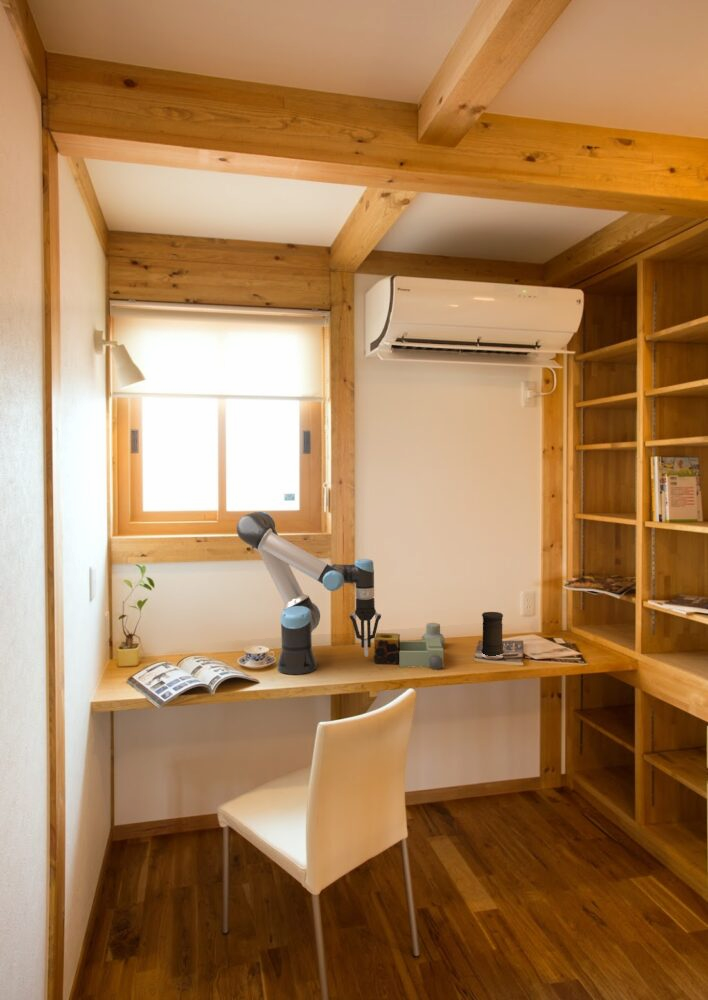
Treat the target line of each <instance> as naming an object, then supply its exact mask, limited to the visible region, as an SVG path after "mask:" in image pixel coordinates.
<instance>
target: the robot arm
mask: <svg viewBox="0 0 708 1000" xmlns="http://www.w3.org/2000/svg"><path fill="white" fill-rule="evenodd" d="M275 523H276V522H275V520H274V518H273V516H271V515H270V514H269V513H267V512H264V511H253V512H251V513H247V514H244V515H243V516H241V517H240V519H238V521H237V523H236V533H237V536H238V537H239V539H240V540H241V541H242V542H243V543H245V544H247V545H249V546H251V548H252V549H253V550H254V551H257V552H258V553H259V555H260V557H261V559H262V561H263V564H264V565H265V567H266V569H267V571H268V573H269V576H270V577H271V578H272V579H271V580H272V581H273V583H274V585H275V587H276V589H277V590H278V591H277V592H278V593H279V595H280V597H281V599H282V601H283V603H284V605H283V607H282V609H283V610H282V612H281V616H280V623H281V624H280V625H281V627H280V628H281V652H280V655H279V658H278V660H277V671H278V672H279V671H280V672H279V673H281V672H282V674H284V673H288V674H287V675H293V674H297V675H303V674H302V673H306V674H310V673H312V672H315V671H316V670H317V660H316V657H315V655H314V651H313V648H312V647H313V646H312V641H313V640H312V633H313V632H314V630H315V629H316V628H317V627H318V626H319V623H320V620H321V611H320V609H319V607H318V606H317V604H315V603H314V602H313V601H312V599H311V598H310V596H309V594H305V593H304V592H303V590H302V588H301V586H300V584H299V582H298V581H297V579H296V576H295V574H294V572H293V570H292V569H291V567H293V568H295V569H297V570H298V571H300V572H301V573H303V574H305V575H307V576H308V577H310V578H312V579H314V580H315V581H317V582H319V583H320V584H322V585H323V587H324V588H325V589H326V590H327V591H330V592H335V591H338V590H339V589H341V587H343V586H344V585H345V584H355V597H356V598H355V609H354V612H353V613H352V614H350V615H349V619H350V620H351V621H352V624H353V628H354V632H355V635H356V638H357V639H359V640H360V643H361V648H362V649H363V651H364V652H363V653H364V657H369V648H371V647H372V645H371V644H372V641H371V640H372V639H373V640H374V638H375V636H376V633H377V631H378V630H377V629H378V627H379V626H378V624H379V621H380V620H381V618H382V614H381V613H378V612H377V610H376V607H375V569H374V561H373V560H372V559H370V558H359V559H355V561H354V563H352V564H341V563H340V564H339V563H338V564H337V563H334V564H328V563H326V562H325V561H323V560H322V559H320V558H318V557H316V556H314V555H313V554H311V553H309V552H307V551H305V550H304V549H302V548H300V547H299V546H298V545H297V546H296V545H295V544H293V543H291V542H290V541H288V540H286V539H285V538H283V537H281V536H280V535H279V534H278V532H277V530H276V524H275ZM374 616H375V617H374ZM356 618H358V619H359V621H360V631H359V627H358V624H357V619H356ZM373 618H375V621H374V625H373V628H372V629H373V630H372V629H371V620H372V619H373ZM365 622H366V634H367V638H365ZM371 631H372V633H371ZM315 669H316V670H315ZM309 672H310V673H309Z"/></svg>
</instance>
